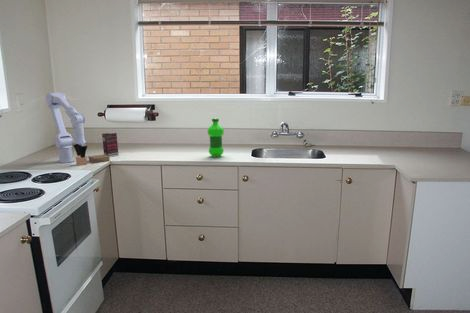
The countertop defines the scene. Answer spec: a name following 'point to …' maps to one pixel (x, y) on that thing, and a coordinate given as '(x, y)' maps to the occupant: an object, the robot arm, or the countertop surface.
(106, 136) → the supplement box
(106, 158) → the walnut base
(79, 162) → the terracotta cube
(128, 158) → the countertop surface
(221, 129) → the plastic bottle
